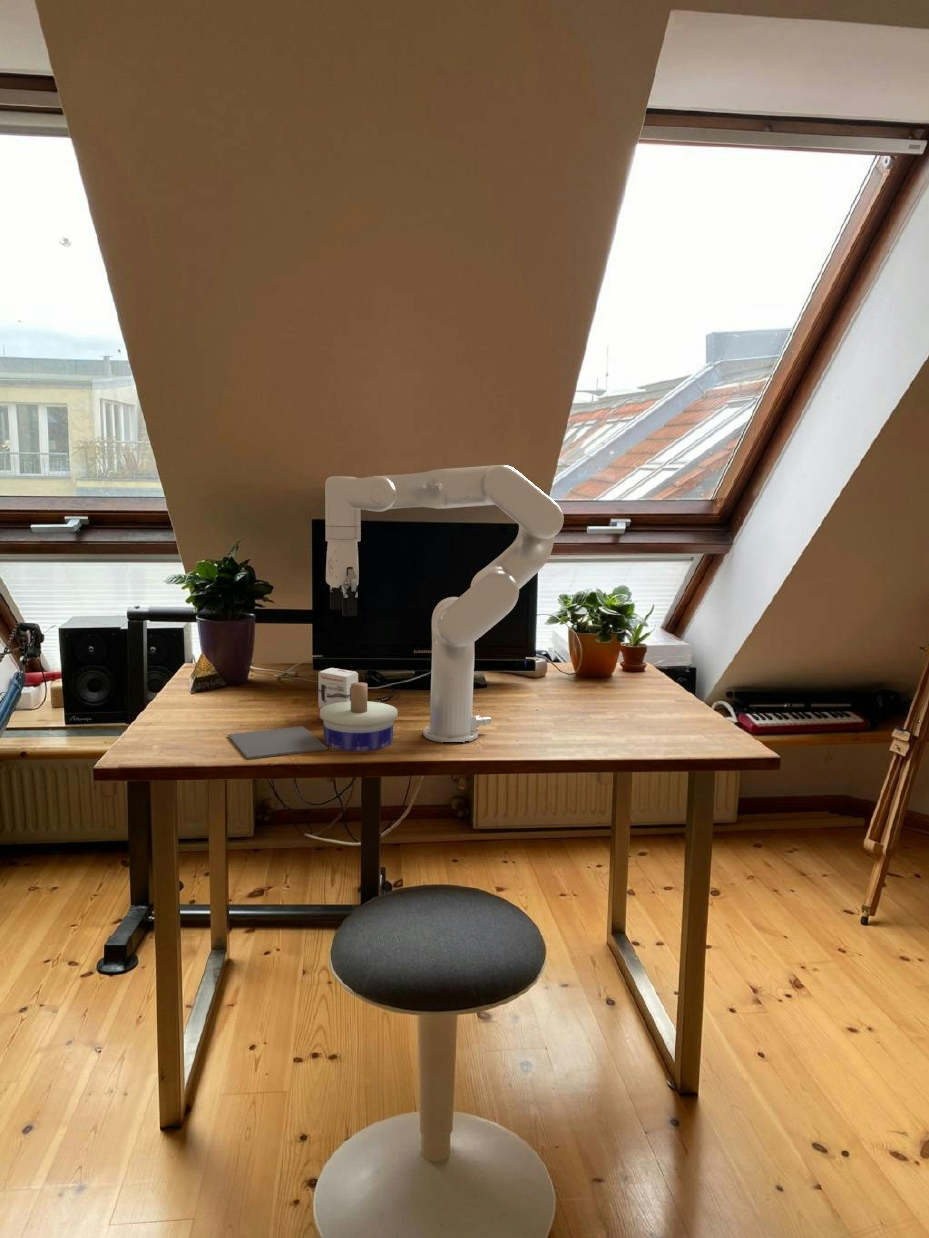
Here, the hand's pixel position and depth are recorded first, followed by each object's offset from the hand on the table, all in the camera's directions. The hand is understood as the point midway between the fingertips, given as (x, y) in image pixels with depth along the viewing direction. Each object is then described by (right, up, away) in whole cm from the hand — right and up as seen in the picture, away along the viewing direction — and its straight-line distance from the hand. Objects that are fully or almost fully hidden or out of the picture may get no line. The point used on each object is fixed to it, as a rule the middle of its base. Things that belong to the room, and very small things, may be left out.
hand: (343, 612), depth 189 cm
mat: (-14, -28, -2) cm, 32 cm away
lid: (+3, -23, +1) cm, 23 cm away
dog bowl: (+3, -29, +2) cm, 29 cm away
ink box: (-4, -26, +17) cm, 31 cm away
